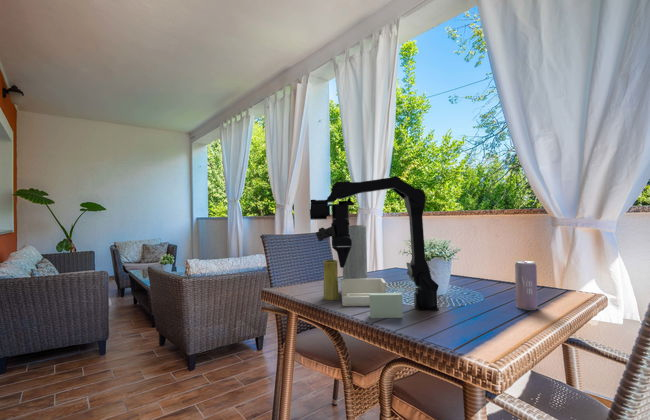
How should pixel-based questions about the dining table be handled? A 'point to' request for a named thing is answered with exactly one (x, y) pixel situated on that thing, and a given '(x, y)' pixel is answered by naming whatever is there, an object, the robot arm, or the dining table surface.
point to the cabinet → (360, 290)
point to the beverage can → (526, 285)
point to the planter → (356, 254)
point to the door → (385, 305)
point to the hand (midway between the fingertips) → (341, 265)
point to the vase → (330, 280)
